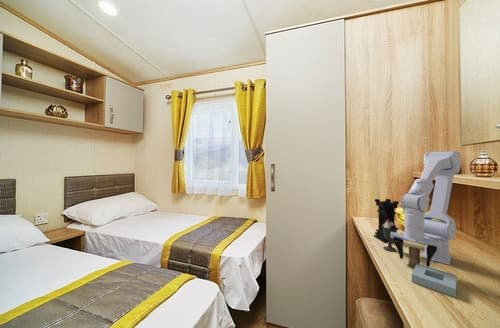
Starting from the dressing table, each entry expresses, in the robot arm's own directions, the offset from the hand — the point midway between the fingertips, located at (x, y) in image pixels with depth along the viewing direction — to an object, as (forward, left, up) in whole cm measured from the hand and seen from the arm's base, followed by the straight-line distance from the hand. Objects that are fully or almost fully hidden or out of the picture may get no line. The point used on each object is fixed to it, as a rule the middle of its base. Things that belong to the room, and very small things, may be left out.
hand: (414, 261), depth 73 cm
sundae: (-11, -10, -2) cm, 15 cm away
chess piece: (-23, -14, -2) cm, 27 cm away
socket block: (+7, +6, -2) cm, 10 cm away
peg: (0, 0, -2) cm, 2 cm away
